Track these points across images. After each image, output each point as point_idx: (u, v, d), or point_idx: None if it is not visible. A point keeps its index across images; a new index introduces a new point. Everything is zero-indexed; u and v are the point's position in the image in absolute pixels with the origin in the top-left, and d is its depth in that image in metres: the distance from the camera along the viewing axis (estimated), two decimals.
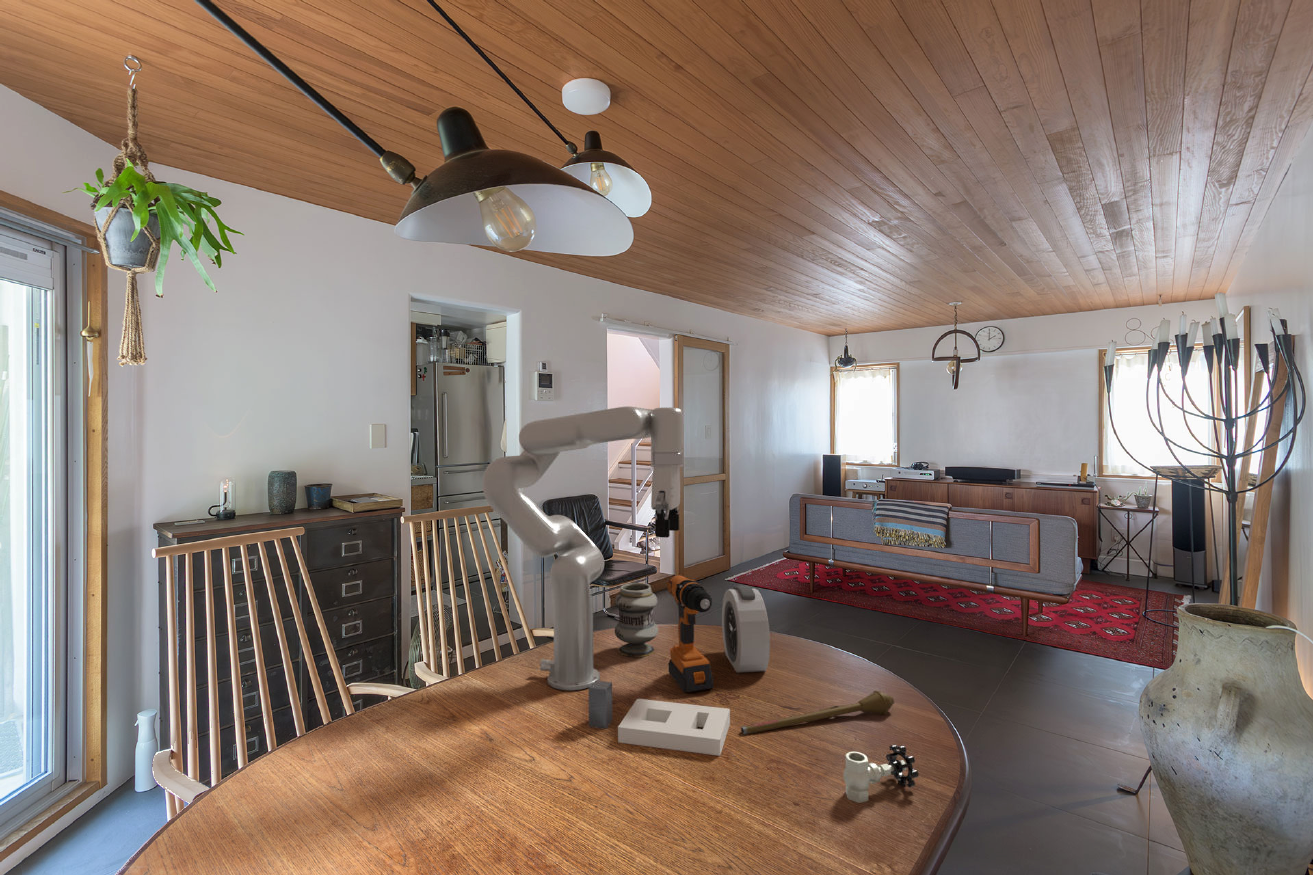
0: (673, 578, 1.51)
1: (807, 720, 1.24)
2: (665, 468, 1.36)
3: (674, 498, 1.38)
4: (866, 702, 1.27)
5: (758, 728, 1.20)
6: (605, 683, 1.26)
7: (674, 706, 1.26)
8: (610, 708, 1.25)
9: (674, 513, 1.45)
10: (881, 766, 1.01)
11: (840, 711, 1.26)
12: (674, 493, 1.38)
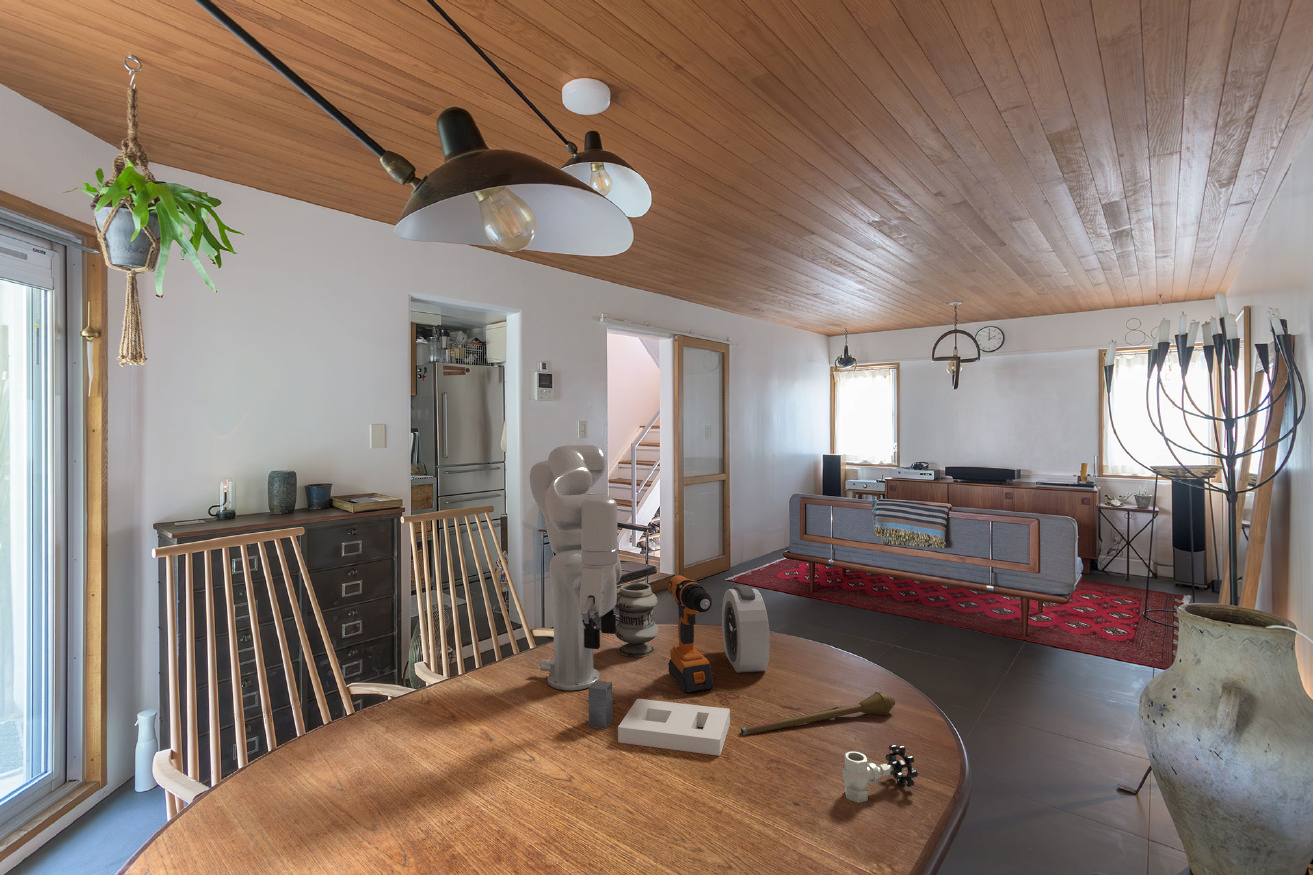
0: (673, 578, 1.51)
1: (807, 721, 1.23)
2: (595, 569, 1.20)
3: (606, 602, 1.22)
4: (867, 703, 1.27)
5: (757, 729, 1.20)
6: (605, 683, 1.26)
7: (674, 706, 1.26)
8: (610, 708, 1.25)
9: (610, 614, 1.29)
10: (880, 766, 1.01)
11: (841, 712, 1.25)
12: (606, 597, 1.22)
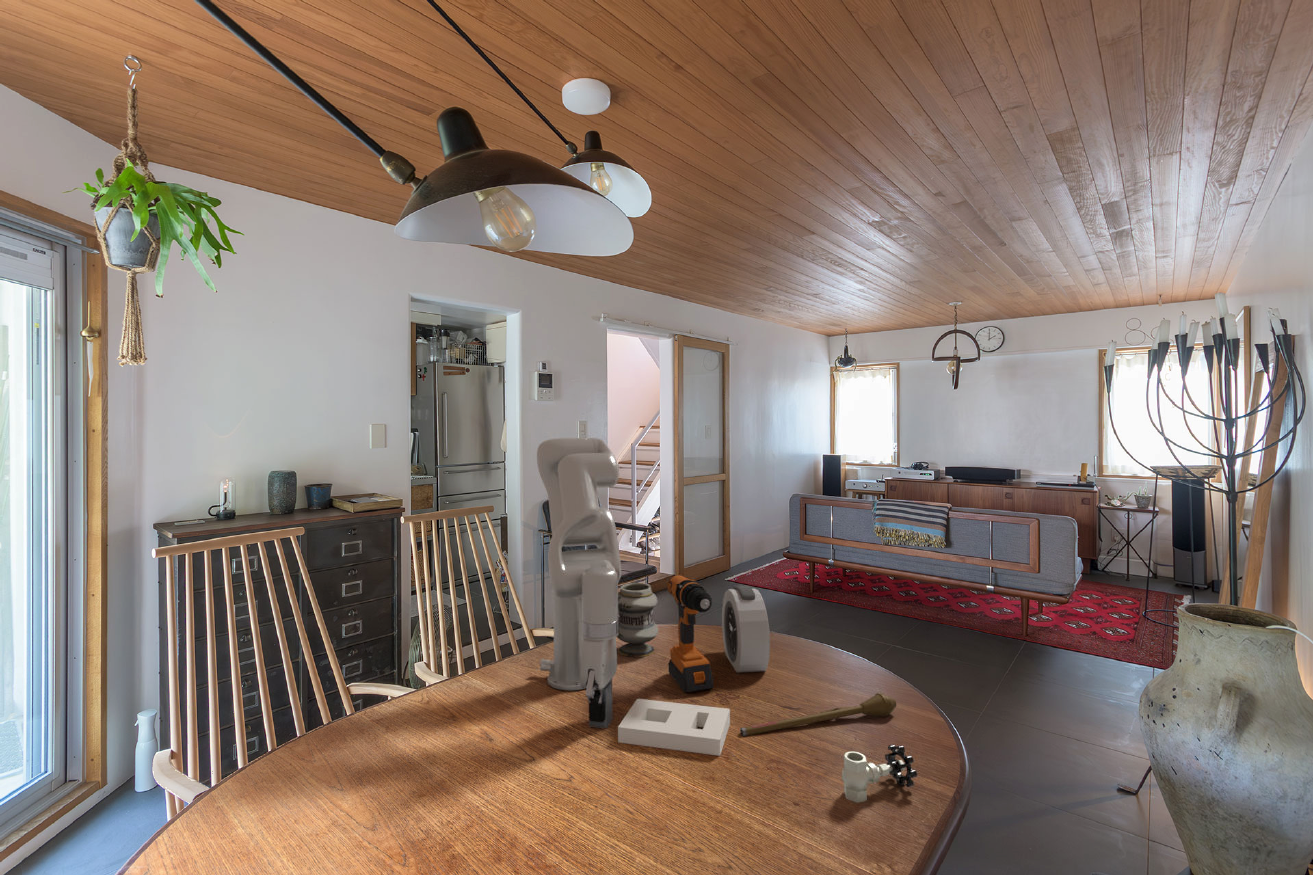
0: (673, 578, 1.51)
1: (807, 722, 1.23)
2: (595, 643, 1.21)
3: (606, 674, 1.22)
4: (868, 705, 1.26)
5: (757, 729, 1.20)
6: None
7: (674, 706, 1.26)
8: (610, 708, 1.25)
9: None
10: (880, 766, 1.01)
11: (841, 713, 1.25)
12: (606, 669, 1.22)
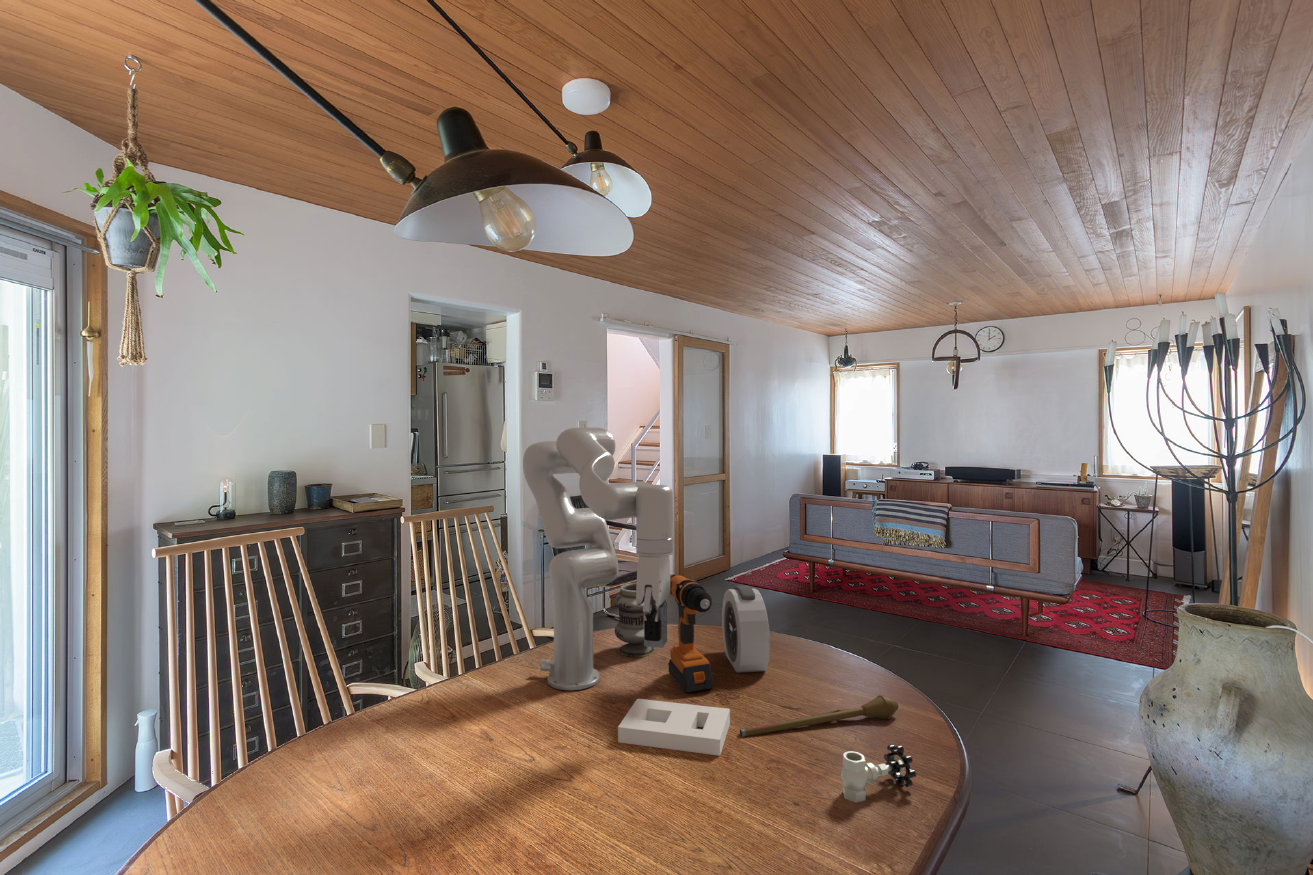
0: (673, 578, 1.51)
1: (808, 724, 1.22)
2: (652, 558, 1.17)
3: (663, 592, 1.19)
4: (869, 707, 1.25)
5: (757, 730, 1.20)
6: None
7: (674, 706, 1.26)
8: (665, 628, 1.22)
9: None
10: (878, 766, 1.01)
11: (842, 715, 1.24)
12: (663, 586, 1.19)
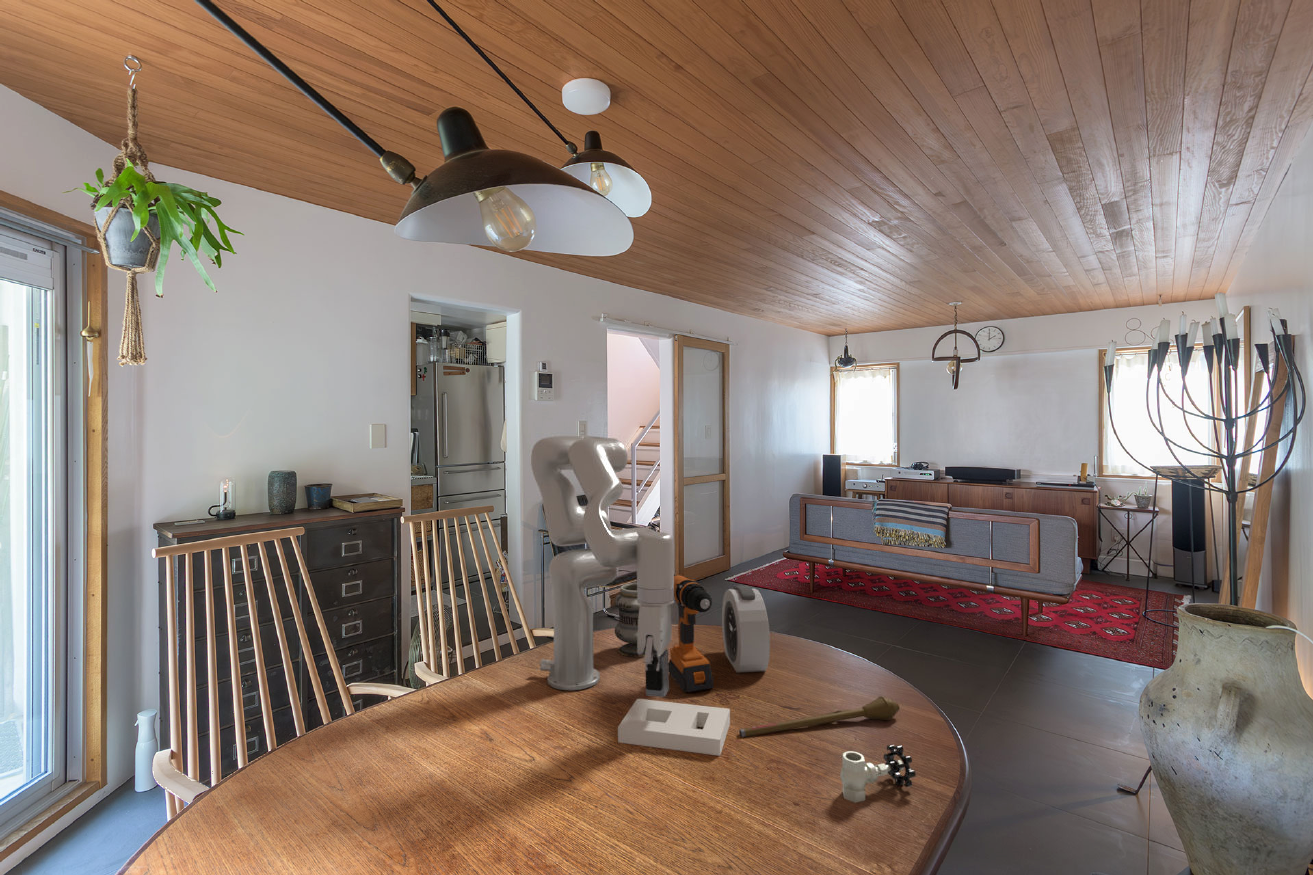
0: None
1: (807, 724, 1.22)
2: (653, 608, 1.17)
3: (664, 641, 1.19)
4: (870, 708, 1.25)
5: (756, 731, 1.19)
6: None
7: (674, 706, 1.26)
8: (667, 676, 1.22)
9: None
10: (878, 766, 1.01)
11: (842, 716, 1.23)
12: (664, 635, 1.19)
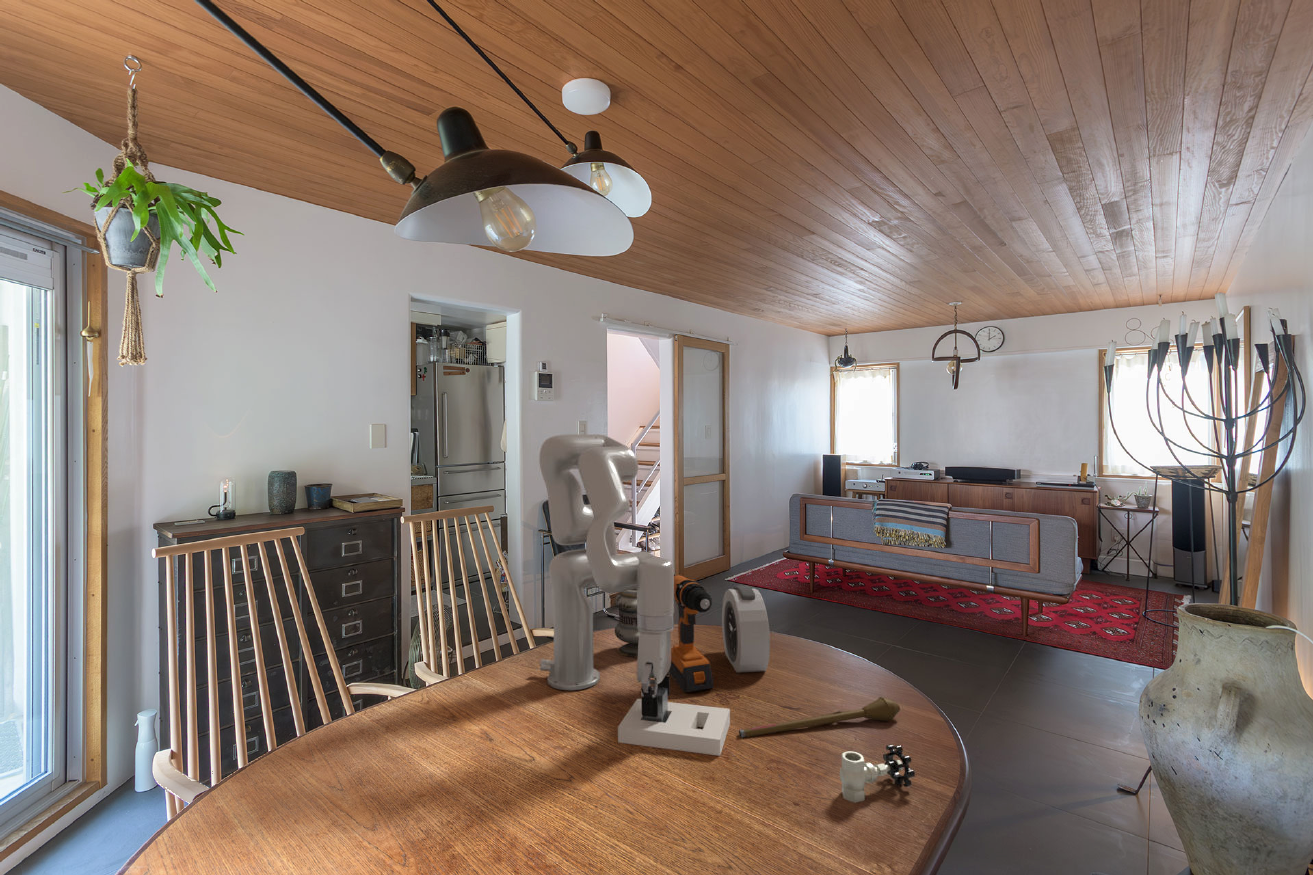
0: None
1: (807, 725, 1.21)
2: (653, 635, 1.17)
3: (664, 668, 1.19)
4: (870, 708, 1.24)
5: (756, 731, 1.19)
6: (660, 689, 1.23)
7: (674, 706, 1.26)
8: (666, 715, 1.22)
9: (664, 676, 1.26)
10: (877, 766, 1.01)
11: (842, 717, 1.23)
12: (663, 662, 1.19)
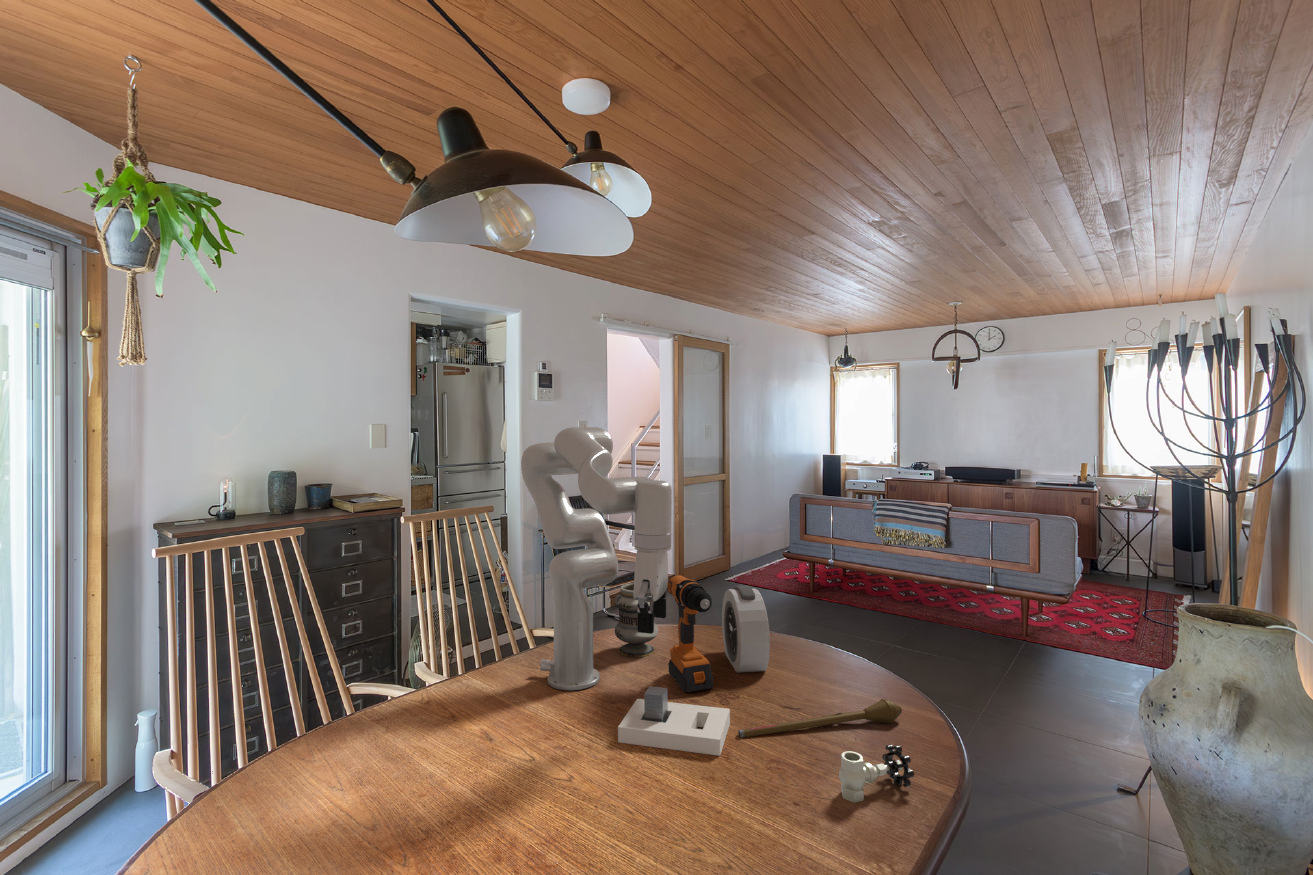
0: (673, 578, 1.51)
1: (807, 726, 1.21)
2: (650, 553, 1.18)
3: (660, 587, 1.20)
4: (871, 710, 1.24)
5: (755, 732, 1.19)
6: (660, 689, 1.23)
7: (674, 706, 1.26)
8: (666, 715, 1.22)
9: (661, 598, 1.27)
10: (877, 766, 1.01)
11: (843, 718, 1.22)
12: (660, 581, 1.20)
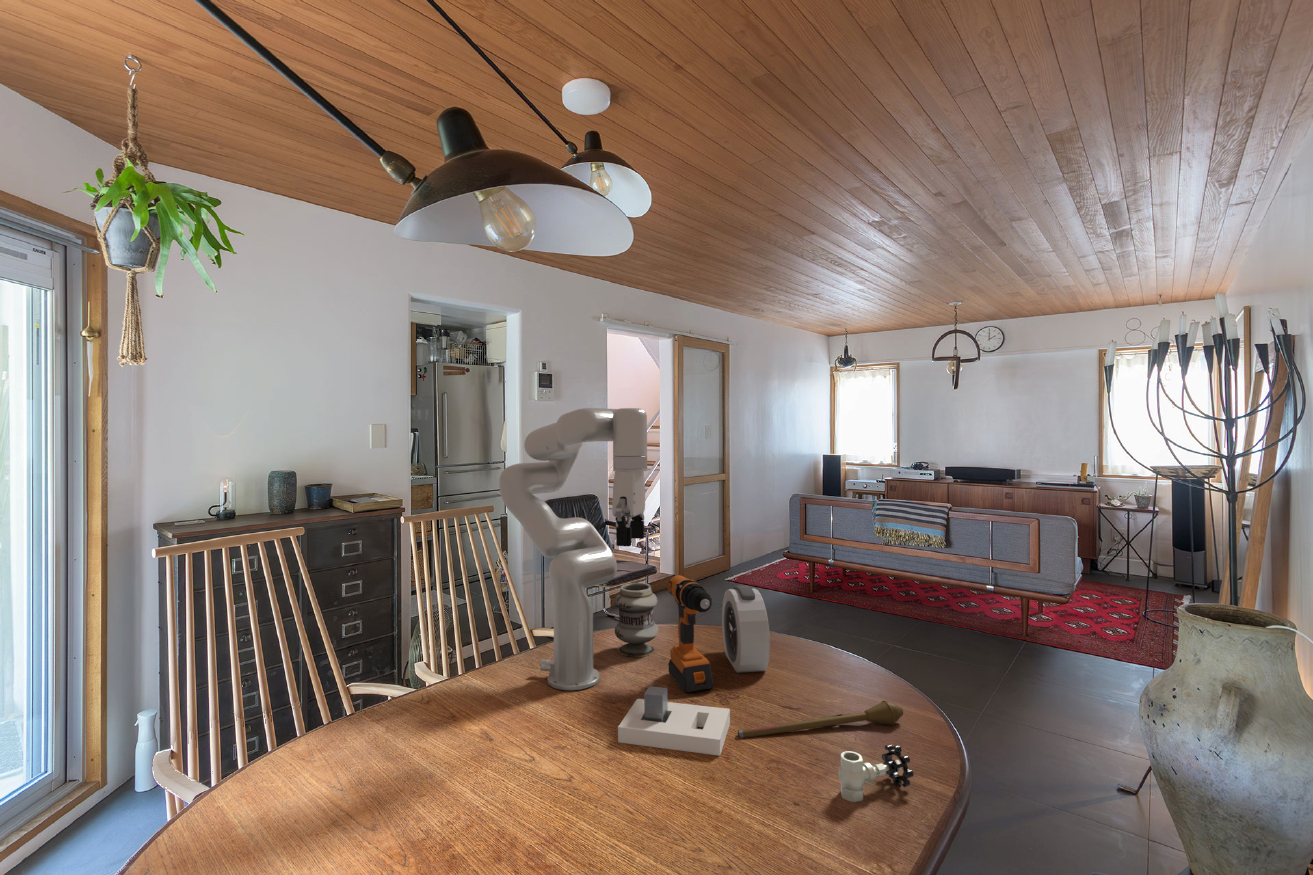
0: (673, 578, 1.51)
1: (807, 727, 1.21)
2: (627, 472, 1.28)
3: (637, 504, 1.30)
4: (872, 712, 1.23)
5: (754, 732, 1.19)
6: (660, 689, 1.23)
7: (674, 706, 1.26)
8: (666, 715, 1.22)
9: (639, 520, 1.37)
10: (876, 766, 1.01)
11: (844, 719, 1.22)
12: (637, 499, 1.29)
